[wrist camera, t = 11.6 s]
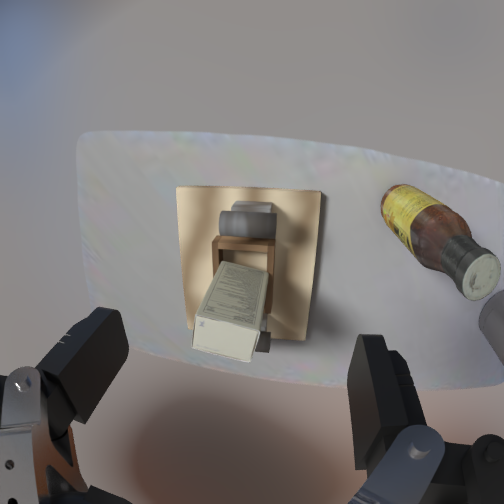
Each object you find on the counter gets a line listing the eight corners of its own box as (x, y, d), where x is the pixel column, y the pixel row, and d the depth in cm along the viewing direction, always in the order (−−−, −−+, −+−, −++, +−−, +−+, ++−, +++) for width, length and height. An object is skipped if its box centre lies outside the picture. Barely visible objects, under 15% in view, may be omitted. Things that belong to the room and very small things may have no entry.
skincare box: (216, 288, 40) (187, 348, 29) (222, 258, 38) (192, 313, 27) (263, 300, 40) (250, 365, 28) (271, 271, 38) (260, 331, 27)
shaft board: (320, 191, 37) (325, 205, 30) (304, 335, 45) (305, 368, 39) (179, 185, 39) (156, 198, 32) (190, 324, 48) (175, 353, 41)
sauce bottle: (370, 215, 37) (428, 296, 19) (392, 173, 34) (474, 220, 16) (409, 237, 37) (478, 323, 19) (431, 197, 35) (520, 260, 17)
